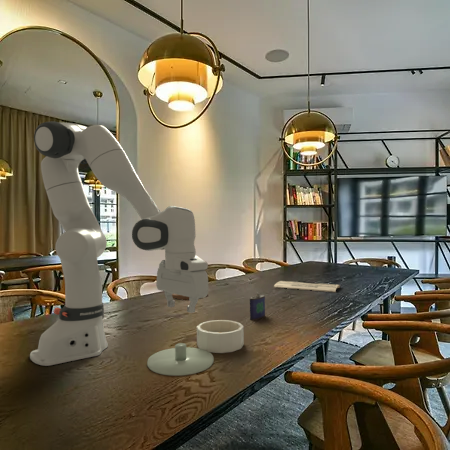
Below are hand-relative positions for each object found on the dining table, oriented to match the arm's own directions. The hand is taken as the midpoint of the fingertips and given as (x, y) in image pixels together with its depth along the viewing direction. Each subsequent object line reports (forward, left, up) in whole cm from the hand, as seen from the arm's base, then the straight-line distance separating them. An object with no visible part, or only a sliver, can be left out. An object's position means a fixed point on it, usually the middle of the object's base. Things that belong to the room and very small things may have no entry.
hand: (180, 309), depth 103 cm
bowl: (+18, +2, -15) cm, 24 cm away
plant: (+61, +71, -16) cm, 95 cm away
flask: (+52, +14, -15) cm, 56 cm away
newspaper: (+126, +36, -16) cm, 132 cm away
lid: (0, 0, -16) cm, 16 cm away
